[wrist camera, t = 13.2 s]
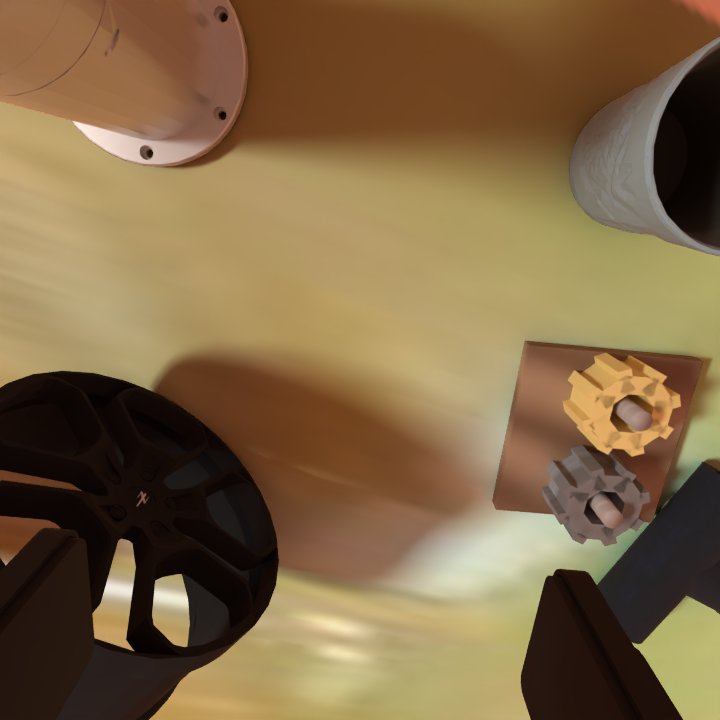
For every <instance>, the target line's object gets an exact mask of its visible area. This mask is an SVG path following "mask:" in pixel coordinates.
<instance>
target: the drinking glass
mask: <svg viewBox="0 0 720 720" xmlns="http://www.w3.org/2000/svg"><path fill="white" fill-rule="evenodd" d="M569 176H570V184H571V189H572V191H573V194H574V197H575V199H576V201H577V202H578V204H579V205H580V207H581V208H582V209H583V210H584V212H585V213H586V214H587V215H589V216H590V217H591V218H592V219H593V220H595V221H597V222H599V223H601V224H603V225H606V226H609V227H613V228H616V229H619V230H623V231H627V232H632V233H639V234H651V235H655V236H657V237H659V238H660V239H662V240H664V241H667V242H669V243H673V244H677V245H681V246H684V247H688V248H691V249H694V250H698V251H701V252H704V253H707V254H712V255H716V256H720V37H718V38H716V39H715V40H713V41H711V42H710V43H708V44H706V45H705V46H703V47H702V48H700V49H699V50H697V51H696V52H694V53H693V54H691V55H689V56H688V57H687V58H685V59H684V60H682V61H680V62H679V63H677V64H675V65H674V66H672V67H670V68H668V69H667V70H666V71H664V72H662V73H661V74H660V75H659V76H658V77H656V78H654V79H651V80H650V81H649V82H648V83H647V84H644V85H640V86H639V87H635V88H634V89H633V90H631V91H629V92H628V93H626V94H624V95H622V96H620V97H619V98H617V99H615V100H613V101H612V102H610V103H608V104H607V105H605V106H604V107H603V108H602V109H600V110H599V111H598V112H597V113H596V114H595V115H594V116H593V117H592V118H591V119H590V120H589V121H588V123H587V124H586V125H585V127H584V128H583V130H582V131H581V133H580V135H579V136H578V138H577V141H576V143H575V145H574V148H573V150H572V154H571V158H570V168H569Z"/></svg>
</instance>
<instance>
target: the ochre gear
mask: <svg viewBox="0 0 720 720" xmlns="http://www.w3.org/2000/svg"><path fill="white" fill-rule="evenodd" d="M594 358H595V364H593V365H592V366H591V367H589V368H588V369H586V370H585V371H584V372H582V373H579V372H577V371H575V370H574V371H573V373H572V374H571V376H570V377H569V379H568V381H569V382H570V383H571V384H572V385H573V388H572V393H571V397H570V399H568V400H565V401H563V406H564V411H565V413H566V414H567V415H568V416H569V417H570V418H571V419H572V420H573V421H574V422H575V423H576V424H577V425H578V426H577V428H578V429H579V430H580V431H581V432H582V433H583V435H584V436H585V437H586V438H587V439H588V440H589V441H590V442H591V443H592V444H593V445H594V446H595V447H596V448H597V449H598V450H600V451H602V452H604V453H606V454H609V453H610V451H611V450H612V449H613V448H615V449H624V450H625V451H626V452H627V453H628V454H629V455H630V456H631V457H632V456H636V455H640V454H644V447H643V446H645V445H646V444H648V443H649V442H651V441H652V440H654V439H656V438H657V437H659V436H660V437H662V438H664V439H667V437H668V436H669V435H670V434H671V432H672V431H673V430H674V429H673V428H672V427H670V426H669V425H668V422H669V419H670V416H671V413H672V409H674V408H678V407H681V402H680V395H679V394H677V393H676V392H674V391H673V390H671V389H669V388H668V387H666V386H664V385H663V384H662V383H663V382H664V380H665V379H666V378H667V376H665V375H664V374H662V373H660V372H658V371H657V370H655V369H653V368H651V367H650V366H648V365H646V364H644V363H643V362H641V361H639V360H637V359H636V358H634V357H632V356H630V355H628V357H627V358H626V360H625V361H619V360H617V359H616V358H614V357H612V356H611V355H609V354H608V353H604V354H600V355H597V356H594ZM625 396H626V397H627V398H629V399H630V400H632V401H633V402H634V403H636V404H637V405H638V406H640V407H641V408H642V409H644V410H645V411H646V412H648V413H649V414H650V415H651V416H652V418H653V423H652V425H651V427H650V428H649V429H647V430H645V431H641V432H639V431H636V430H634V429H633V428H632V427H631V426H629V425H628V424H627V423H626V422H625V421H623V420H622V419H621V418H620V417H619V416H617V415H616V414H615V413H614V412H613V411H612V409H613V405H614V404H615V403H616V402H618V401H619V400H621V399H622V398H624V397H625Z"/></svg>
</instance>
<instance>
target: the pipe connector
mask: <svg viewBox="0 0 720 720" xmlns="http://www.w3.org/2000/svg"><path fill="white" fill-rule="evenodd" d="M597 587H598V589H599V590H600V592H601V593H602V595H603V597H604V598H605V600H606V602H607V603H608V605H609V607H610V608H611V610H612V611H613V613H614V615H615V616H616V618H617V620H618V621H619V623H620V624H621V626H622V628H623V629H624V631H625V633H626V634H627V636H628V638H629V639H630V641H631V642H633V643H636V644H641V643H642V642H643V641H644V640H645V639H646V638H647V637H648V636H649V635H650V634H651V633H652V632H653V631H654V630H655V628H656V627H657V626H658V625H659V624H660V623H661V622H662V621H663V620H664V619H665V618H666V617H667V616H668V615H669V613H670V612H671V611H672V610H673V609H674V608H675V607H676V606H677V605H678V604H679V603H680V602H681V601H682V600H683V598H684V597H685V596H686V595H687V596H689V597H691V598H693V599H695V600H697V601H698V602H700V603H702V604H704V605H706V606H708V607H710V608H712V609H714V610H715V611H716V612H717V613H719V614H720V471H719V470H717V469H715V468H714V467H712V466H710V465H708V464H707V463H705V462H702V464H701V465H700V466H699V467H698V468H697V469H696V471H695V472H694V473H693V474H692V475H691V476H690V478H689V479H688V480H687V481H686V482H685V483H684V485H683V486H682V487H681V488H680V489H679V490H678V491H677V493H676V494H675V495H674V496H673V497H672V498H671V500H670V501H669V502H668V503H667V504H666V505H665V507H664V508H663V509H662V510H661V511H660V512H659V514H658V515H657V516H656V517H655V518H654V519H653V521H652V523H650V524H649V525H648V526H647V528H646V529H645V530H644V531H643V532H642V533H641V535H640V536H639V537H638V538H637V539H636V540H635V542H634V543H633V544H632V545H631V546H630V547H629V549H628V550H627V551H626V552H625V553H624V554H623V556H622V557H621V558H620V559H619V560H618V561H617V563H616V564H615V565H614V566H613V567H612V568H611V569H610V571H609V572H608V573H607V574H606V575H605V576H604V578H603V579H602V580H601V581H600V582H599V583H598V585H597Z"/></svg>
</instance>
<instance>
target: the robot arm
mask: <svg viewBox="0 0 720 720" xmlns="http://www.w3.org/2000/svg"><path fill="white" fill-rule="evenodd" d="M223 15H227V16H228V19H227V20H226V21H225V22H221V17H222V16H223ZM247 81H248V55H247V47H246V43H245V38H244V34H243V30H242V27H241V24H240V22H239V20H238V17H237V15H236V12H235V10H234V8H233V6H232V4H231V3H230V1H229V0H0V101H1V102H5V103H9V104H12V105H16V106H20V107H23V108H27V109H31V110H34V111H38V112H42V113H45V114H49V115H53V116H56V117H60V118H64V119H67V120H71V121H72V123H73V124H74V125H75V127H76V128H77V129H79V130H80V131H81V132H82V133H83V134H84V135H85V136H86V137H87V138H88V139H89V140H90V141H91V142H93V143H94V144H95V145H97V146H98V147H100V148H101V149H103V150H104V151H106V152H107V153H109V154H111V155H114V156H116V157H118V158H120V159H122V160H124V161H128V162H132V163H136V164H140V165H145V166H154V167H164V166H176V165H180V164H184V163H187V162H191V161H193V160H195V159H197V158H199V157H201V156H203V155H205V154H207V153H208V152H209V151H210V150H212V149H213V148H214V147H215V146H217V145H218V144H219V143H220V142H221V141H222V140H223V138H224V137H225V136H226V135H227V133H228V132H229V131H230V130H231V128H232V127H233V125H234V123H235V121H236V119H237V117H238V115H239V113H240V111H241V108H242V105H243V101H244V98H245V95H246V90H247ZM222 112H225V113H226V115H227V117H226V119H225V120H221V118H220V114H221V113H222ZM150 150H153V157H152V158H151V157H150V156H149V154H148V153H149V151H150ZM93 650H94V629H93V617H92V605H91V593H90V581H89V570H88V558H87V546H86V541H85V540H84V539H82V538H79V535H78V533H77V531H75V530H68V529H55V528H44V529H42V530H40V531H39V532H38V533H37V534H36V535H35V536H34V537H33V538H32V539H31V540H30V541H29V542H28V543H27V544H26V545H25V546H24V548H23V549H22V550H21V551H20V552H19V553H18V554H17V555H16V556H15V557H14V558H13V559H12V560H11V561H10V562H9V563H8V564H7V565H6V566H5V567H4V568H3V569H2V570H1V571H0V720H56V718H57V717H58V715H59V713H60V712H61V710H62V708H63V706H64V705H65V703H66V701H67V700H68V698H69V696H70V694H71V693H72V691H73V689H74V688H75V686H76V684H77V682H78V681H79V679H80V677H81V676H82V674H83V672H84V671H85V669H86V667H87V665H88V664H89V662H90V659H91V657H92V654H93ZM521 688H522V693H523V697H524V700H525V703H526V706H527V709H528V712H529V715H530V718H531V720H683V719H682V717H681V716H680V714H679V712H678V711H677V709H676V708H675V706H674V704H673V703H672V701H671V699H670V698H669V696H668V695H667V693H666V691H665V690H664V688H663V687H662V685H661V683H660V682H659V680H658V679H657V677H656V675H655V674H654V672H653V670H652V669H651V667H650V666H649V664H648V662H647V661H646V659H645V658H644V656H643V655H642V654H641V653H640V651H639V650H638V649H636V648H635V647H634V646H633V644H632V642H631V641H630V639H629V638H628V636H627V634H626V633H625V631H624V629H623V628H622V626H621V624H620V623H619V621H618V620H617V618H616V616H615V615H614V613H613V611H612V610H611V608H610V607H609V605H608V603H607V602H606V600H605V598H604V597H603V595H602V593H601V592H600V590H599V589H598V587H597V585H596V584H595V582H594V580H593V579H592V577H591V576H590V575H589V573H588V572H586V571H578V570H566V569H557V570H556V571H555V572H554V575H553V576H547V578H546V580H545V583H544V587H543V590H542V594H541V598H540V602H539V606H538V610H537V614H536V618H535V622H534V626H533V630H532V634H531V638H530V641H529V645H528V649H527V653H526V657H525V661H524V665H523V669H522V673H521Z"/></svg>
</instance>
